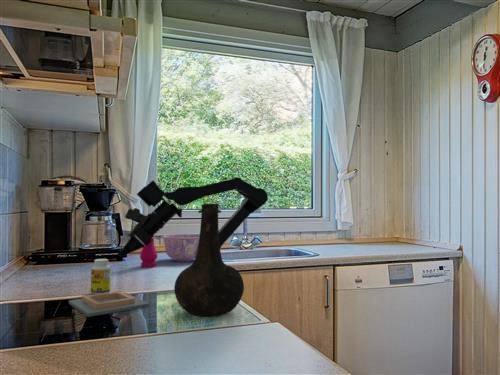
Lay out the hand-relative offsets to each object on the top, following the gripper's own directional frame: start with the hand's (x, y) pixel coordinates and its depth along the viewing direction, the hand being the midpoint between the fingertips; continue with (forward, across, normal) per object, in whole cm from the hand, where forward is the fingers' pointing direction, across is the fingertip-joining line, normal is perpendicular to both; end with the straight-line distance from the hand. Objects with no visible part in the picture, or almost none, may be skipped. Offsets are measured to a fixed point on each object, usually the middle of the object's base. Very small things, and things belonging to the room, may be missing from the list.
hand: (121, 253), depth 123 cm
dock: (+10, +14, +7) cm, 19 cm away
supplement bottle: (+13, 0, +5) cm, 14 cm away
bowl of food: (-9, -63, +26) cm, 69 cm away
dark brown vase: (-8, +28, +25) cm, 38 cm away
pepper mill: (+3, -48, +14) cm, 50 cm away
